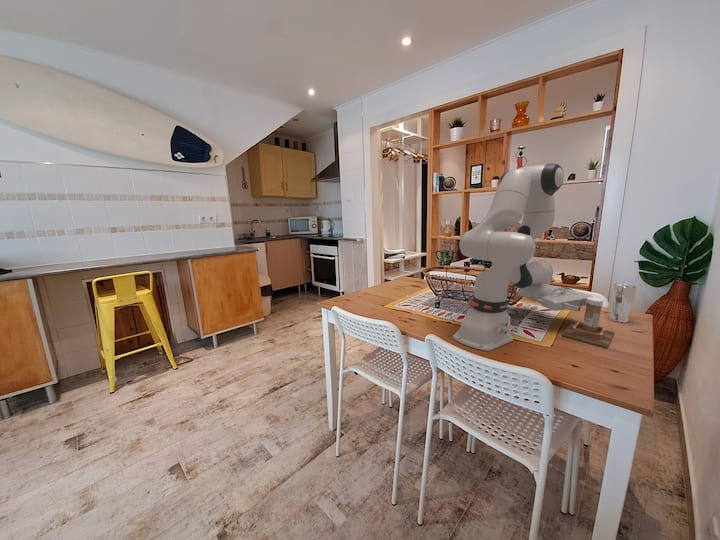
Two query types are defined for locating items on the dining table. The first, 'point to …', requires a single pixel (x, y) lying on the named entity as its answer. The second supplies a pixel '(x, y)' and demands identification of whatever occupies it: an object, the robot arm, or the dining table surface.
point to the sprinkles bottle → (592, 314)
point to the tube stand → (588, 335)
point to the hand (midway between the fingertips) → (588, 307)
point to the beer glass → (622, 301)
